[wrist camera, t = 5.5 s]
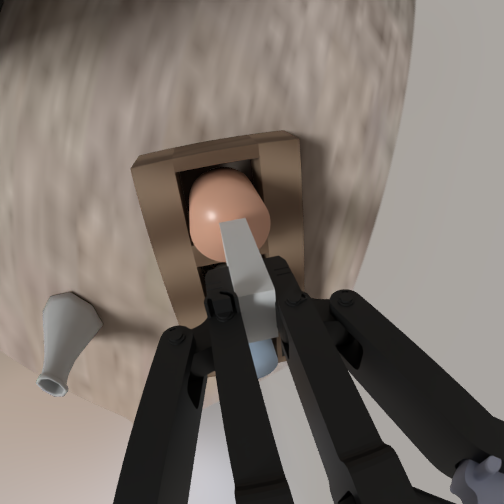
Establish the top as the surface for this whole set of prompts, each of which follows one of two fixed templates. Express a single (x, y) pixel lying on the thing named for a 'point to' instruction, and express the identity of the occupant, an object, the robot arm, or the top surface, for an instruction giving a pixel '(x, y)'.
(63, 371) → the flask
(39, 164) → the top surface
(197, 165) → the wooden egg tray
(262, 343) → the blue rounded lump
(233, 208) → the peach orange ball
